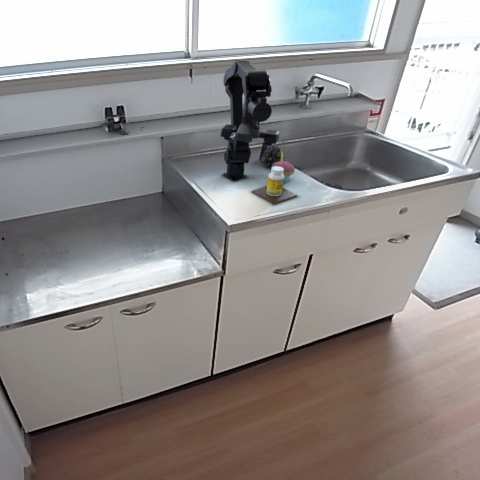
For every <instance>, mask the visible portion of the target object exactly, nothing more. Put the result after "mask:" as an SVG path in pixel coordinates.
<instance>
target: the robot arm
mask: <svg viewBox="0 0 480 480" xmlns="http://www.w3.org/2000/svg"><path fill="white" fill-rule="evenodd" d="M222 83H223V86H224V89H225V90H224V92H225V93H226V95H227V96H228V98H229V104H230V105H229V107H230V124H225V125H224V126H223V127H222V128H221V129H220V135H219V136H220V138H223V139H224V140H225V141H227V142H228V144H227V147H226V149H225V152H224V153H223V160H224V163H225V164H226V172H224V173H223V174H222V175H223V176H224V177H226V178H227V179H229V180H231V181H237V180H241V179H244V178H246V177H247V175H245V164H249V162H250V158H251V155H252V150H251V148H250V143H252V141H253V140H254V139H263V142H262V144H261V150H260V153H259V159H258V160H259V161H261V160H262V157H263V155H264V153H265V151H266V149H267V148H269V147H270V146H273V145H275V144H277V143H278V141H279V139H280V136H281V135H280V133H281V132H280V131H279V130H276V129H267V130H266V131H265V132H263V131H261V127H260V125H261V124H260V123H263V122H266V121H268V119H270V118H271V115H272V113H273V110H272V107H271V105H270V104H269V103H268V102H267V101H268V98H271V96H272V95H271V93H272V91H273V89H272V83H271V78H270V75H269V73H268V72H267V70H263V69H256V68H255V67H254V66H253V65H252V64H250V61H248V60H247V59H246V60H235V61H233V63H232V66H230V67H229V68H227V69H226V70H225V73H224V75H223V82H222ZM243 96H244V97H243ZM243 99H244V101H243Z"/></svg>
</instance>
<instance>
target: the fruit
mask: <svg viewBox="0 0 480 480" xmlns="http://www.w3.org/2000/svg"><path fill="white" fill-rule="evenodd" d="M281 153H282V152H281V148H280V147H279V146H277V145H276V146H275V145H271V146H268V147H267V149H266V151H265V153H264V155H263V157H262V159H261V160H260V163H261V164H263V166H264V167H268V168H272V165H273V164H274V163H276V162H279V161H281ZM283 159H284V156H283Z"/></svg>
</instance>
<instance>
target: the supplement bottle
mask: <svg viewBox="0 0 480 480" xmlns="http://www.w3.org/2000/svg"><path fill="white" fill-rule="evenodd" d="M271 169H272V170H270V172H269V174H268V176H267V185H266V186H267V191H266V192H267V194H268V195H270V196H280V195H281V193H282V188H284V183H285V182H284V174H283V171H284V169H283V168H282V167H279V166H274V167H271Z"/></svg>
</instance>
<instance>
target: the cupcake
mask: <svg viewBox="0 0 480 480" xmlns="http://www.w3.org/2000/svg"><path fill="white" fill-rule="evenodd" d="M280 153H281V161H279V162H276V163H274V164H273V165H272V167H274V166H279V167H282V168H283V169H284V171H283V174H284V182H283V183H286V182H288V181H289V179H290V177H291V176H292V175H293V174H294V173H295V171H296V168H295V165H293V164H292V163H291V162H289V161H286V160H284V158H283V157H284V152H280ZM272 167H271V168H270V169H271V170H272ZM271 170H270V171H271Z"/></svg>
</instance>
